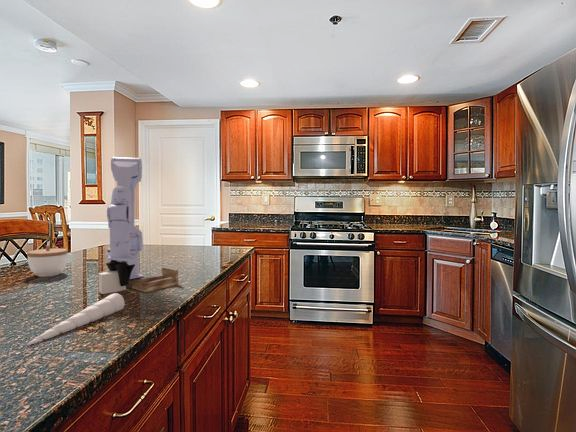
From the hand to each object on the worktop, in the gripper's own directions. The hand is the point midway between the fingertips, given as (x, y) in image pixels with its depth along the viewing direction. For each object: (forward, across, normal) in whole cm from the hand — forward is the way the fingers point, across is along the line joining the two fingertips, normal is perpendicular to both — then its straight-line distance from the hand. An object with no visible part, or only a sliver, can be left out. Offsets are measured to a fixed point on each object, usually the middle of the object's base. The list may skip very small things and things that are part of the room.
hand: (121, 284), depth 109 cm
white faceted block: (+2, 0, -2) cm, 3 cm away
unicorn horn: (+2, +22, -20) cm, 30 cm away
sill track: (+2, +5, +9) cm, 10 cm away
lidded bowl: (+2, -42, -6) cm, 42 cm away
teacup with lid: (+2, -29, +15) cm, 33 cm away
